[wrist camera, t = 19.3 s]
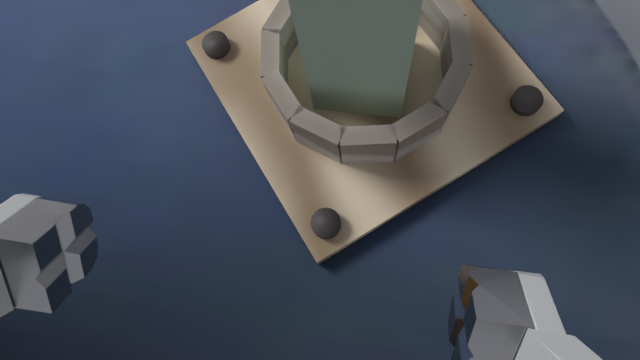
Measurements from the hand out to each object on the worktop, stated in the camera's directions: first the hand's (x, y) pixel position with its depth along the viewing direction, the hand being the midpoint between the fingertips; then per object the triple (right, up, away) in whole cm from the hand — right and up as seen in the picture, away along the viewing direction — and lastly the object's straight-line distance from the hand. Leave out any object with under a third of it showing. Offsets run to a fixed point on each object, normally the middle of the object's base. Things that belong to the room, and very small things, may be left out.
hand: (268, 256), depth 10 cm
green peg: (+4, +8, +18) cm, 20 cm away
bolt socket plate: (+4, +8, +18) cm, 20 cm away
